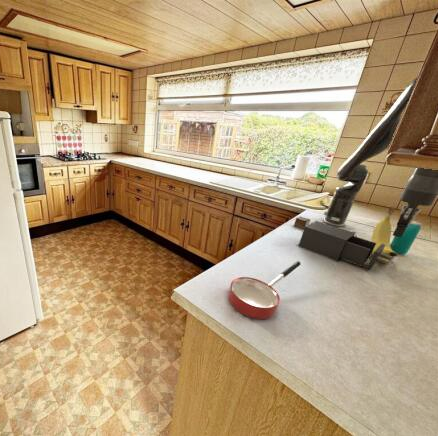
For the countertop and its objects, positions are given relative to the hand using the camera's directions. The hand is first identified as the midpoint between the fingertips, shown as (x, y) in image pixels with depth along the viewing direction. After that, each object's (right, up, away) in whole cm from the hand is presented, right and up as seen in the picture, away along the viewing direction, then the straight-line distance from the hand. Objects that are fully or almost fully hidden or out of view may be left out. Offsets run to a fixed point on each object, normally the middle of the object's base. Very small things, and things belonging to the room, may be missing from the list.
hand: (397, 236), depth 83 cm
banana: (+9, -10, +16) cm, 21 cm away
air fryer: (-12, -7, +19) cm, 24 cm away
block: (-7, +1, +41) cm, 42 cm away
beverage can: (+21, -9, +20) cm, 30 cm away
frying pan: (-51, -17, -9) cm, 55 cm away
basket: (-4, -11, +10) cm, 15 cm away
